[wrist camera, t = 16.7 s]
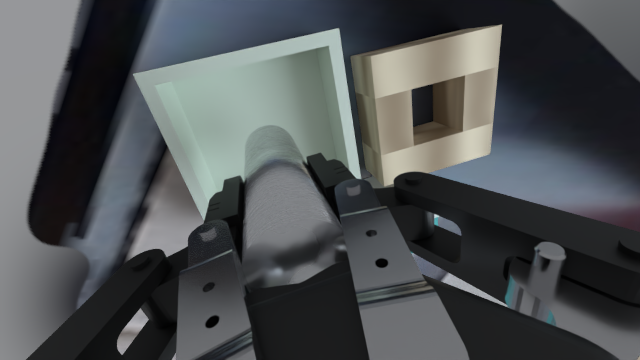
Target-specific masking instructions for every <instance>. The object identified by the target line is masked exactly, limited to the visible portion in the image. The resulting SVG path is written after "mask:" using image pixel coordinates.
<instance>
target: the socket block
mask: <svg viewBox="0 0 640 360" xmlns="http://www.w3.org/2000/svg"><path fill="white" fill-rule="evenodd" d="M501 29H502V25H495V26H487V27H479V28H471V29H462V30H458V31H454V32H450V33H446V34H441V35H437V36H433V37H429V38H425V39H420V40H416V41H412V42H408V43H403V44H399V45H395V46H391V47H387V48H382V49H378V50H374V51H370V52H366V53H361V54H357V55H353V56H350V57H351V65H352V72H353V79H354V87H355V94H356V101H357V109H358V116H359V123H360V131H361V138H362V145H363V153H364V160H365V167H366V170H368V171H369V172H370V173H371V174H372V175H373V176H374V177H375V178H376V179H377V180H378V181H379V182H380V183H381V184H382V185H383V186H384V187H385V186H388V185H391V184H394V183H393V181H394V178H395V177H397V176H398V175H400V174H402V173H406V172H414V171H416V172H424V173H430V172H433V171H436V170H440V169H443V168H446V167H449V166H453V165H456V164H459V163H462V162H466V161H469V160H472V159H475V158H479V157H482V156H485V155H488V154H490V148H491V138H492V127H493V116H494V105H495V94H496V83H497V72H498V62H499V51H500V40H501ZM430 84H433V121H432V122H429V123H425V124H422V125H418V126H415V127H413V119H412V97H411V89H415V88H419V87H422V86H426V85H430Z"/></svg>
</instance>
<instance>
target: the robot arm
mask: <svg viewBox="0 0 640 360" xmlns="http://www.w3.org/2000/svg"><path fill="white" fill-rule="evenodd" d="M306 159H307V164H308V167H309V168H310V170H311V172H312V174H313V176H314V177H315V179H316V181H317V183H318V185H319V186H320V188H321V190H322V192H323V194H324V195H325V197H326V199H327V201H328V202H329V204H330V206H331V208H332V210H333V211H334V213H335V215H336V217H337V219H338V220H339V222H340V224H341V226H342V230H343V235H344V239H345V244H346V249H347V254H348V260H345V261H342V262H339V263H336V264H334V265H331V266H329V267H328V268H326V269H324V270H322V271H321V272H319V273H317V274H315V275H314V276H312V277H310V278H309V279H307V280H305V281H303V282H301V283H296V284H289V285H281V286H273V287H266V288H263V289H260V290H257V291H254V292H252V290H251V288H250V286H249V284H248V281H247V279H246V277H245V275H244V272H243V269H242V241H243V203H244V182H243V179H242V177H241V176H240V175H239V176H236V177H232V178H229V179H225V180H224V183H223V189H222V191H220V192H217V193H215V194H214V195H213V196H212V197H211V199H210V200H209V204H208V208H207V212H206V216H205V220H204V224H202V225H200V226H199V227H197V228H196V229H195V230H194V231H193V232H192V233H191V234H190V235H189V237H188V247H186V248H184V249H182V250H181V251H178V252H176V253H174V254H172V255H170V256H168V257H166V255H165V253H164V252H163V251H162V250H161V249H152V250H148V251H145V252H142V253H140V254H138V255H136V256H135V257H133V258H131V259H130V260H129V261H127V262H126V263H125V264H124V265H123V266H122V267H121V268H120V269H119V270H118V271H117V272H116V273H115V274H114V275H113V276H112V277H111V278H110V279H108V280H107V281H106V282H105V283H104V284H103V285H102V286H101V287H100V288H99V289H98V290H97V291H96V292H95V293H94V294H93V295H92V296H91V297H90V298H89V299H88V300H87V301H86V302H85V303H84V304H83V305H82V306H81V307H80V308H79V309H78V310H77V311H76V312H75V313H74V314H73V315H72V316H70V317H69V318H68V320H66V321H65V323H63V324H62V325H61V326H60V327H59V328H58V329H57V330H56V331H55V332H54V333H53V334H52V335H51V336H50V337H49V338H48V339H47V340H46V341H45V342H44V343H43V344H42V345H41V346H40V347H39V348H38V349H37V350H36V351H35V352H34V353H32V354H31V355H30V357H28V358H27V359H26V360H172V358H173V356H174V355H175V353H176V360H637V359H638V357H639V356H640V232H637V231H634V230H630V229H627V228H623V227H619V226H616V225H612V224H608V223H605V222H601V221H598V220H594V219H590V218H587V217H583V216H580V215H576V214H572V213H569V212H565V211H561V210H558V209H554V208H551V207H547V206H543V205H540V204H536V203H533V202H529V201H525V200H522V199H518V198H514V197H511V196H507V195H504V194H500V193H496V192H493V191H489V190H486V189H482V188H478V187H475V186H471V185H467V184H464V183H460V182H457V181H453V180H449V179H446V178H442V177H439V176H435V175H431V174H428V173H424V172H416V171H414V172H406V173H402V174H400V175H398V176H397V177H395V178H394V181H393V183H394V187H387V188H372V186H371V184H370V182H368V181H367V180H364V179H356V177H355V176H354V175H353V174H352V173H351V172H350V171H349V170H348V168H347V167H345V165H344V164H343V163H342V162H341V161H339V160H336V159H332V160H328V161H327V160H326V159H325V157H324V156H323V155H322V153H317V154H314V155H310V156H307V157H306ZM434 214H436V215H438V216H441V217H443V218H446V219H448V220H451V221H453V222H454V223H455V224H457V225H458V227H459V228H460V230H461V234H462V235H461V236H460V235H458V234H455V233H453V232H451V231H448V230H446V229H444V228H441V227H439V226H437V225H434ZM410 251H411V252H412V253H414V254H416V255H418V256H420V257H421V258H423V259H425V260H427V261H429V262H431V263H432V264H434V265H436V266H438V267H440V268H441V269H443V270H445V271H447V272H449V273H450V274H452V275H454V276H456V277H458V278H460V279H461V280H463V281H465V282H467V283H469V284H470V285H472V286H474V287H476V288H478V289H479V290H481V291H483V292H485V293H487V294H489V295H490V296H492V297H494V298H496V299H498V300H499V301H501V302H503V303H505V304H507V306H508V307H509V308H508V307H505V306H503V305H500V304H497V303H495V302H492V301H490V300H487V299H484V298H482V297H479V296H477V295H474V294H472V293H469V292H466V291H464V290H461V289H459V288H456V287H454V286H451V285H448V284H446V283H443V282H441V281H438V280H436V279H433V278H430V277H428V276H425V275H423V274H421V272H420V270H419V268H418V266H417V264H416V262H415V260H414V258H413V256H412V254H411V252H410ZM140 308H141V309H142V311H143V312H144V313H145V315H146V316H147V317H148V319H149V320H148V322H147V323H146V324H145V326H144V327H143V328H142V330H141V331H140V332H139V334H138V335H137V336H136V338H135V339H134V340H133V342H132V343H131V344H130V346H129V347H128V348H127V350H126V351H125V352H124V354H123V355H121V354H120V352H119V351H118V349H117V340H118V337H119V335H120V333H121V331H122V330H123V329H124V327H125V326H126V325H127V324H128V322H129V321H130V320H131V319H132V317H133V316H134V315H135V314H136V313H137V311H138V310H139V309H140Z"/></svg>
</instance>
